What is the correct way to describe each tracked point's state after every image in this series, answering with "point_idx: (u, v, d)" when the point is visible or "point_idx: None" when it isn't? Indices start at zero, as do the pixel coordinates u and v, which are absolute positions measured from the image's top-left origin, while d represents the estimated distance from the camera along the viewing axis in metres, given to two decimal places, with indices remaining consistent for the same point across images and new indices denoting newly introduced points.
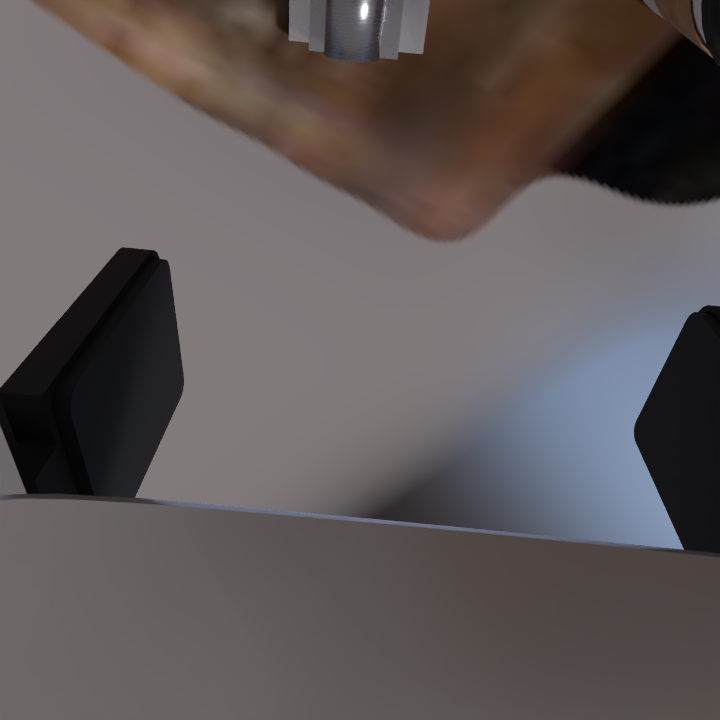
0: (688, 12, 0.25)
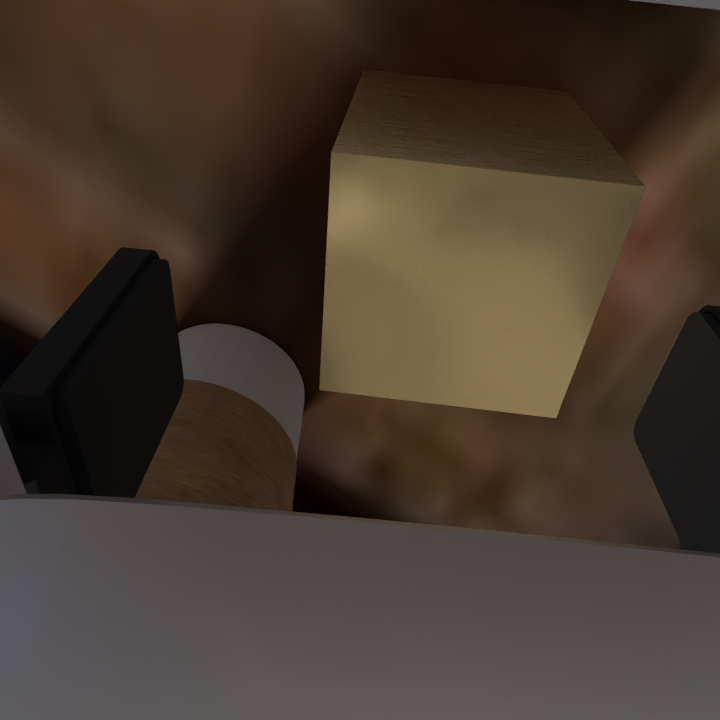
0: None
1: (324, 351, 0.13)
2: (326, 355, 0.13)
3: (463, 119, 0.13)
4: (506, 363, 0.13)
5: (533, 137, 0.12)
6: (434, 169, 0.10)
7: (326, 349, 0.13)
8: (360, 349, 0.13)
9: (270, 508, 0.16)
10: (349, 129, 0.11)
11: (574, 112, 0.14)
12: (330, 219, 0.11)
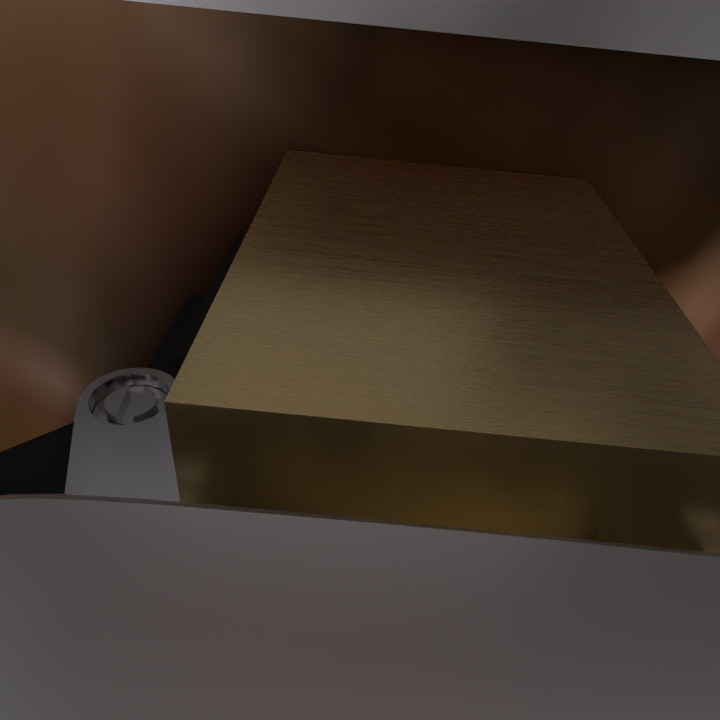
0: None
1: None
2: None
3: (433, 265, 0.08)
4: None
5: (553, 307, 0.07)
6: (373, 431, 0.05)
7: None
8: None
9: None
10: (223, 317, 0.06)
11: (607, 230, 0.09)
12: (184, 496, 0.06)
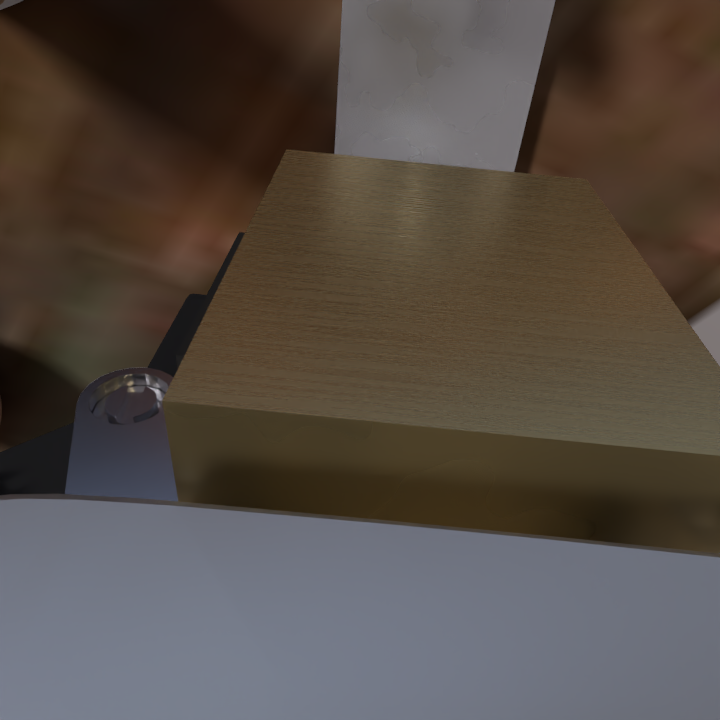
0: None
1: None
2: None
3: (431, 265, 0.08)
4: None
5: (550, 307, 0.07)
6: (371, 431, 0.05)
7: None
8: None
9: None
10: (221, 316, 0.06)
11: (606, 230, 0.09)
12: (182, 495, 0.06)
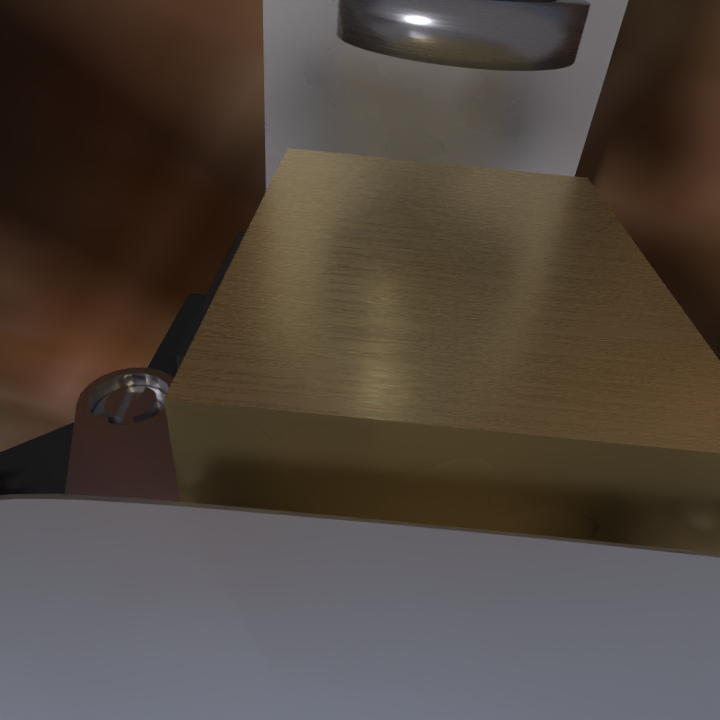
0: None
1: None
2: None
3: (433, 263, 0.08)
4: None
5: (553, 304, 0.07)
6: (372, 429, 0.05)
7: None
8: None
9: None
10: (223, 314, 0.06)
11: (607, 228, 0.09)
12: (184, 493, 0.06)
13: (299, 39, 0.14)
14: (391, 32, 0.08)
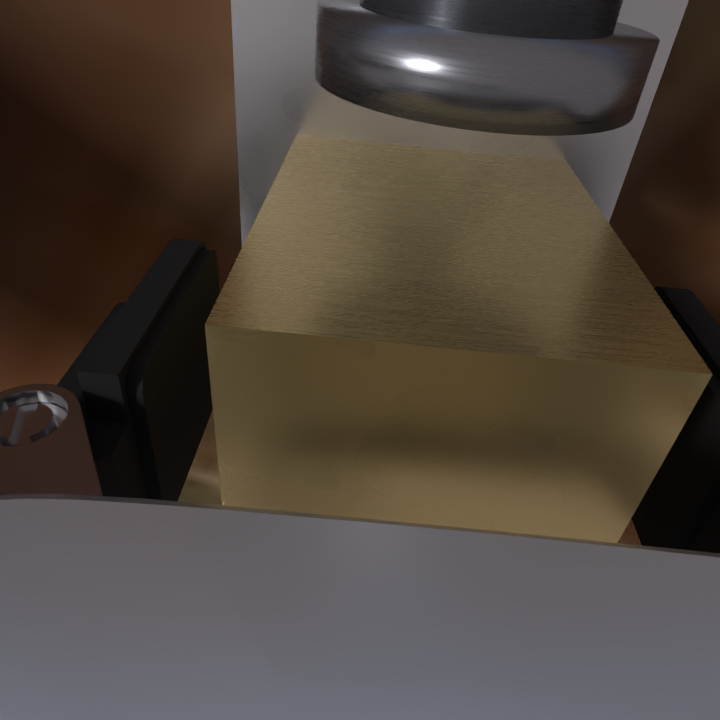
0: None
1: None
2: None
3: (425, 228, 0.09)
4: None
5: (527, 261, 0.08)
6: (374, 349, 0.06)
7: None
8: None
9: None
10: (248, 265, 0.07)
11: (580, 203, 0.10)
12: (217, 411, 0.07)
13: (277, 67, 0.11)
14: (387, 82, 0.06)
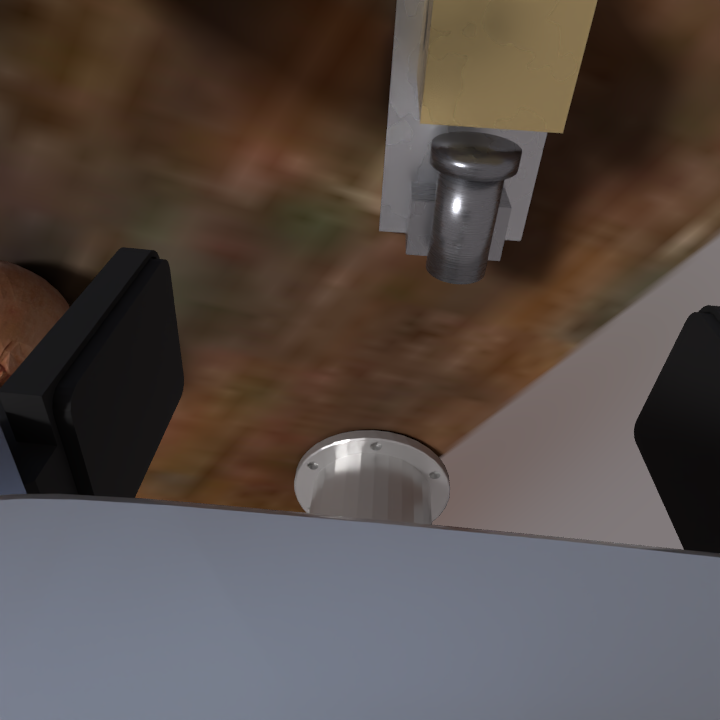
0: None
1: (425, 92, 0.22)
2: (426, 95, 0.22)
3: None
4: (533, 92, 0.22)
5: None
6: None
7: (426, 90, 0.22)
8: (447, 88, 0.22)
9: None
10: None
11: None
12: None
13: None
14: None
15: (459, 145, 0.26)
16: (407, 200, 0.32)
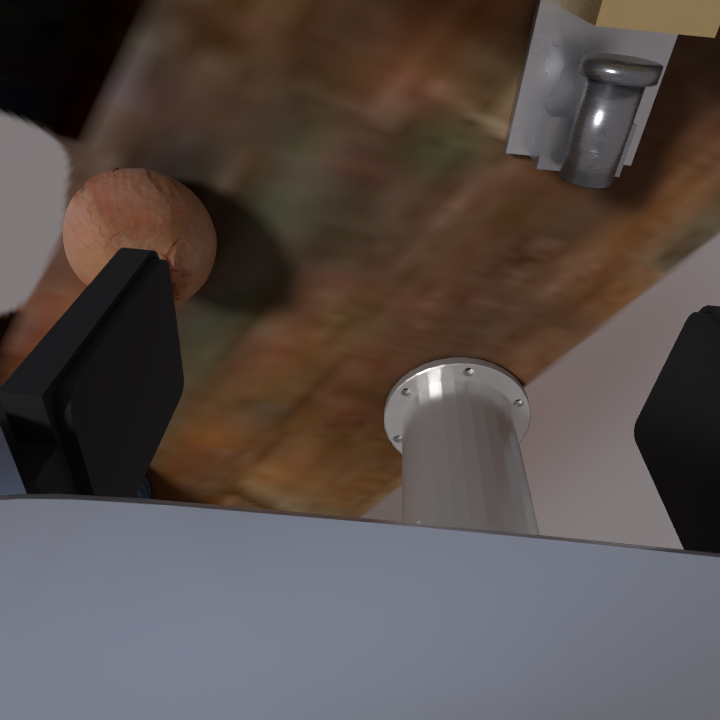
0: None
1: None
2: None
3: None
4: None
5: None
6: None
7: None
8: None
9: None
10: None
11: None
12: None
13: None
14: None
15: (607, 59, 0.30)
16: (535, 124, 0.36)
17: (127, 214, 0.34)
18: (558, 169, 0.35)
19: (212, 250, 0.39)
